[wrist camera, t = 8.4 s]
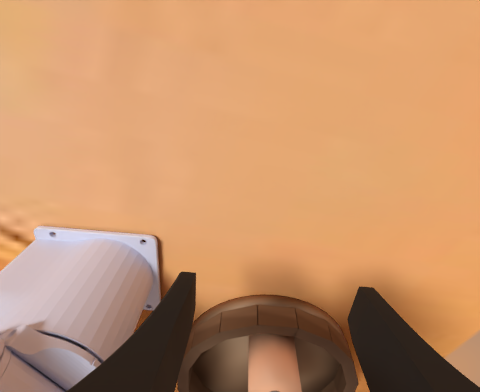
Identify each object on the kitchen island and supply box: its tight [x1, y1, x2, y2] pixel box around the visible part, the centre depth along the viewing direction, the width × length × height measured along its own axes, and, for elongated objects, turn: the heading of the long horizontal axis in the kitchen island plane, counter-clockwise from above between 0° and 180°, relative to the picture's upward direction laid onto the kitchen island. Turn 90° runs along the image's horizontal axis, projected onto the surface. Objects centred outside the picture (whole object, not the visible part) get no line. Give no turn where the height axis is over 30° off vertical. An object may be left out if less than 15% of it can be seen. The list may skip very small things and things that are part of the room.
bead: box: [248, 334, 302, 392], centre depth 24 cm, size 4×4×5 cm
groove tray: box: [177, 295, 358, 392], centre depth 28 cm, size 16×16×3 cm
